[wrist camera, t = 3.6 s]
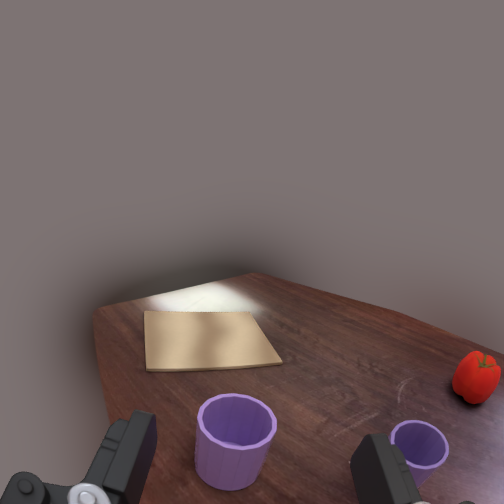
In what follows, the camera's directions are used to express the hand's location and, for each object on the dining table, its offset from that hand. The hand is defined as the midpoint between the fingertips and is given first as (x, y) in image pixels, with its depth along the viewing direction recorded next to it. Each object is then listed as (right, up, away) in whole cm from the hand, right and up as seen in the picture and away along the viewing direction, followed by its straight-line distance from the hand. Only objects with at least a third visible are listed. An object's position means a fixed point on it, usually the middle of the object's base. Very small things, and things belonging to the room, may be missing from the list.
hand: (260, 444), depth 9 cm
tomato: (+36, -18, +27) cm, 49 cm away
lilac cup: (+14, -18, +12) cm, 26 cm away
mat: (-8, -7, +37) cm, 39 cm away
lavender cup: (-3, -14, +15) cm, 21 cm away
